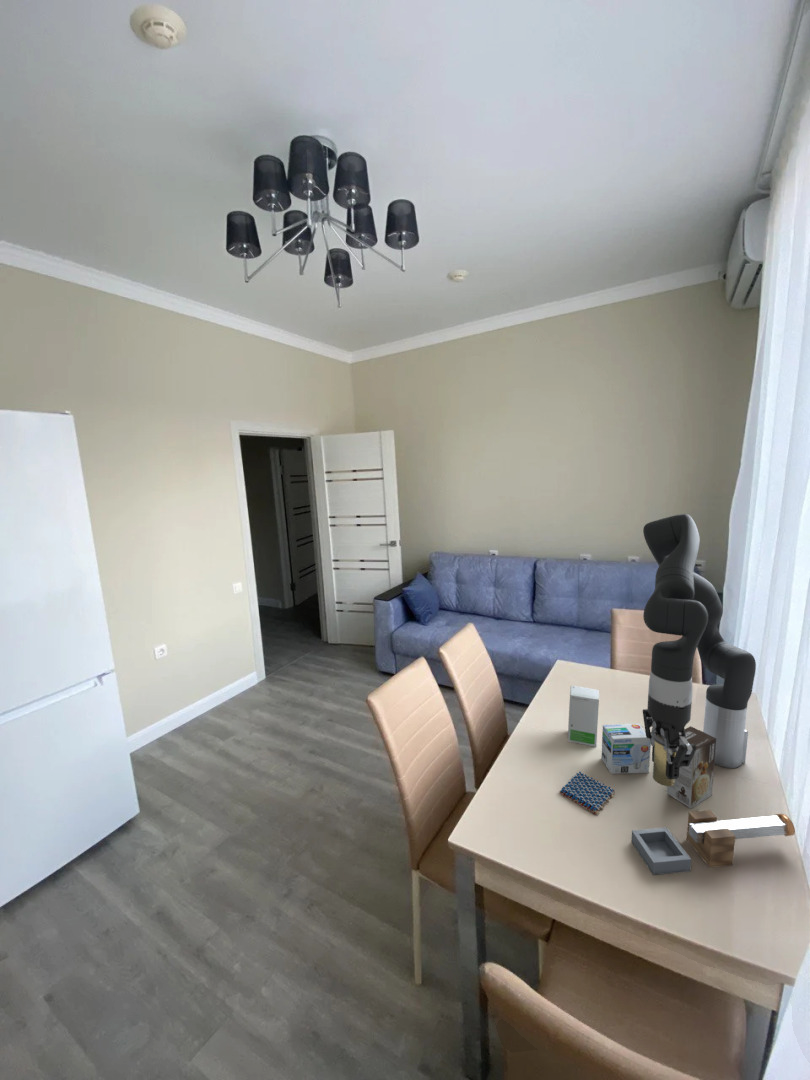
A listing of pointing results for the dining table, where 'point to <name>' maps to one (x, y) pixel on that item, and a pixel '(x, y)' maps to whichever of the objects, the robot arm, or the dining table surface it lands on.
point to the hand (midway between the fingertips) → (664, 769)
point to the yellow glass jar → (661, 761)
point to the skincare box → (583, 715)
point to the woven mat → (587, 792)
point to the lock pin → (746, 827)
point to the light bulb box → (625, 748)
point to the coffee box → (696, 770)
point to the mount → (712, 841)
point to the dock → (660, 851)
